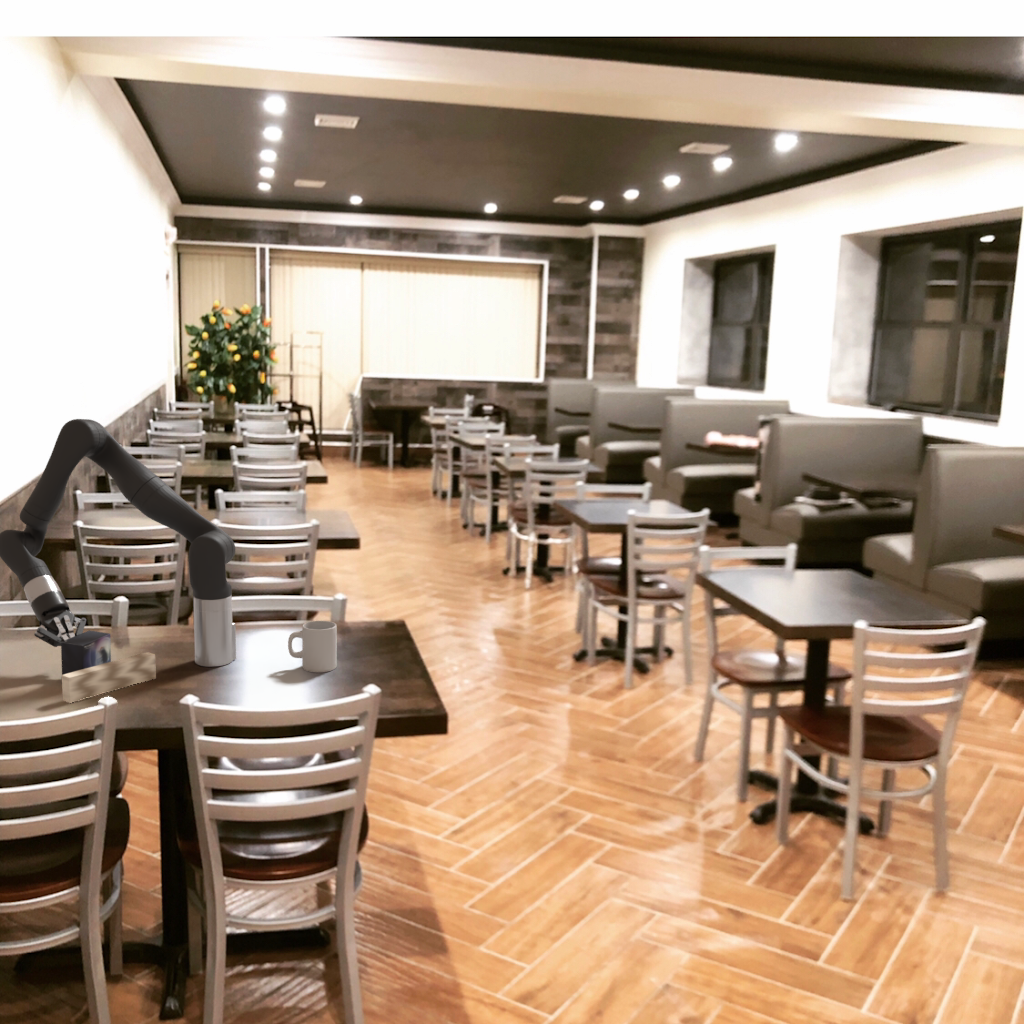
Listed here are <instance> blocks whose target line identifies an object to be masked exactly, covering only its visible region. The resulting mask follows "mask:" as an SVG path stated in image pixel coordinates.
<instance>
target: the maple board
mask: <svg viewBox="0 0 1024 1024" xmlns="http://www.w3.org/2000/svg"><path fill="white" fill-rule="evenodd" d="M156 662H157V661H156V654H155V653H151V652H149V651H146V652H142V653H139V654H135V655H131V656H127V657H123V658H120V659H119V658H118V659H117V660H111V662H108V663H104V664H101V665H97V666H93V667H90V668H86V669H82V670H78V671H75V672H71V673H67V674H63V675H62V674H61V687H62V689H61V691H62V701H63V702H65V701H66V703H68V702H69V703H68V704H70V703H71V704H73V703H72V702H74V701H78V700H80V699H83V698H86V697H90V696H94V695H97V694H100V693H102V692H107V691H112V690H115V689H118V688H122V687H125V688H127V687H126V686H129V687H131V686H130V685H132V686H134V685H133V684H136V685H138V684H137V683H139V684H142V683H146V682H148V681H152V679H153V680H155V679H157V670H156V669H157V668H156V666H157V665H156ZM145 681H146V682H145ZM141 682H142V683H141ZM122 689H123V688H122ZM115 691H116V690H115ZM112 692H113V691H112ZM78 702H79V701H78ZM74 703H75V702H74Z"/></svg>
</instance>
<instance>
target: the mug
mask: <svg viewBox="0 0 1024 1024" xmlns="http://www.w3.org/2000/svg"><path fill="white" fill-rule="evenodd" d="M337 629H338V627H337V623H335V622H333V621H329V620H313V621H308V622H305V623H303V624H302V629H301V630H298V631H297V630H296V631H293V632H291V633H290V635H289V637H288V641H287V648H288V649H287V650H288V652H289V655H290V656H291V657H292V658H295V659H302V661H301V662H302V664H301V665H302V669H303V670H304V671H306V672H311V673H326V672H327V673H328V672H330V671H333V670H335V669H336V668H337V666H338V660H337V659H338V658H337V657H338V656H337V654H338V653H337V652H338V651H337V649H338V648H337V644H338V643H337V638H338V637H337V636H338V633H337V632H338V631H337ZM295 638H299V639H301V640H302V641H301V643H302V649H301V650H299V651H295V650H294V649H293V641H294V639H295Z"/></svg>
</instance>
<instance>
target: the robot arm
mask: <svg viewBox="0 0 1024 1024" xmlns="http://www.w3.org/2000/svg"><path fill="white" fill-rule="evenodd" d="M84 457H87V458H88V459H89V460H90V461H92V462H94V463H95V464H96V465H98V466H99V467H100V468H101V469H102V470H104V471H105V472H106V473H107V474H108V475H109V476H110V478H111V479H112V480H113V481H114V483H115V485H116V486H117V488H118V490H119V491H120V492H121V494H122V495H123V496H124V498H125V499H126V500H127V501H128V502H129V503H130V504H131V505H132V506H133V507H135V508H136V509H137V510H138V511H139V512H140V513H142V514H143V515H144V516H146V517H147V518H149V519H151V520H153V521H154V522H156V523H158V524H160V525H162V526H165V527H167V528H169V529H171V530H173V531H175V532H176V533H178V534H180V535H181V536H182V537H184V538H185V539H186V540H187V541H188V542H189V543H190V544H189V545H190V546H189V549H188V569H189V571H188V572H189V582H190V583H189V584H190V586H191V589H192V591H193V592H192V593H193V594H192V595H193V629H194V630H193V631H194V633H193V635H194V663H195V664H196V665H198V666H201V667H209V668H211V667H212V668H213V667H222V666H225V665H228V664H231V663H232V662H233V661H234V660H236V659H237V643H236V642H237V639H236V638H237V636H236V635H237V634H236V623H235V622H233V600H232V598H233V596H232V593H233V592H232V590H233V589H232V584H231V583H230V582H229V581H228V580H227V570H226V565H227V564H228V563H230V562H231V561H232V560H233V559H234V557H235V556H236V555H235V554H236V545H235V542H234V540H233V538H232V537H231V536H230V535H229V534H228V533H227V532H226V531H224V530H223V529H222V528H220V527H219V526H217V525H216V524H214V523H213V522H211V521H210V520H209V519H208V518H206V517H205V516H203V515H202V514H200V513H199V512H198V511H197V510H196V509H194V507H193V506H192V505H190V504H189V503H188V502H187V501H186V500H185V499H183V497H182V496H180V495H179V494H178V493H177V492H176V491H175V490H173V489H172V487H170V486H169V485H168V484H167V483H166V482H165V481H164V480H163V479H162V478H160V477H159V476H158V475H157V474H156V473H154V472H153V471H152V470H151V469H150V468H148V467H147V466H146V465H144V464H143V462H141V461H139V460H138V459H137V458H136V457H134V456H133V455H132V454H131V453H129V452H128V451H127V450H126V449H125V448H124V447H123V446H122V444H120V443H119V442H118V441H117V440H116V439H115V437H113V435H112V434H111V433H110V432H109V431H108V430H107V429H106V428H105V427H104V425H102V424H101V423H99V422H98V421H96V420H94V419H93V420H92V419H90V418H89V419H88V418H86V419H84V418H75V419H71V420H69V421H67V422H66V423H64V424H63V426H62V427H61V429H60V431H59V433H58V436H57V438H56V441H55V444H54V447H53V449H52V452H51V454H50V456H49V459H48V461H47V463H46V466H45V468H44V470H43V472H42V474H41V476H40V478H39V480H38V482H37V483H36V485H35V487H34V489H33V490H32V492H31V493H30V496H29V497H28V499H27V500H26V502H25V504H24V505H23V507H22V509H21V511H20V513H19V519H20V521H21V522H22V523H23V524H24V525H25V527H24V530H17V529H5V530H3V531H1V532H0V559H1V560H2V561H3V562H4V563H5V565H6V566H7V567H8V568H9V569H10V571H12V572H13V574H15V575H16V576H17V579H18V581H19V583H20V584H21V586H22V590H23V592H24V593H25V594H24V595H25V597H26V599H27V601H28V603H29V605H30V607H31V609H32V611H33V613H34V614H35V615H34V616H35V617H36V618H37V620H38V621H39V624H38V625H39V626H38V628H37V629H36V630H35V632H34V633H33V634H34V635H33V636H34V637H36V638H38V639H39V640H42V641H43V642H45V643H46V644H48V645H50V646H52V647H54V648H57V647H61V642H62V641H64V640H67V639H69V638H72V637H74V636H77V635H79V634H82V633H84V630H85V626H86V623H87V619H86V617H81V618H79V617H77V616H76V615H75V614H74V612H72V611H71V610H70V606H69V604H68V601H67V600H66V598H65V596H64V594H63V592H62V590H61V588H60V587H59V584H58V583H57V581H56V580H55V579H54V577H53V574H52V573H51V571H50V569H49V567H48V565H47V564H46V562H45V561H44V560H43V559H40V558H38V557H36V556H38V555H39V553H40V552H41V551H42V548H43V545H44V543H45V538H46V534H47V532H48V531H47V530H48V526H49V525H50V522H51V521H52V520H53V518H54V516H55V514H56V512H57V511H58V509H59V507H60V506H61V503H62V501H63V499H64V497H65V496H64V495H65V492H66V488H67V485H68V481H69V479H70V477H71V475H72V473H73V472H74V470H75V468H76V467H77V465H78V464H79V463H80V462H81V461H82V459H83V458H84ZM74 628H76V629H75V632H74Z"/></svg>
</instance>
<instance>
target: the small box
mask: <svg viewBox="0 0 1024 1024" xmlns="http://www.w3.org/2000/svg"><path fill="white" fill-rule="evenodd" d="M111 645H112V644H111V633H110V632H109V633H108V632H102V631H95V630H86V631H85V632H84V631H83V633H82V634H79V635H77V636H74V637H72V638H69V639H67V640H64V641H62V642H61V646H60V650H61V651H60V653H61V655H60V657H61V660H60V661H61V676H62V675H63V674H67V673H71V672H75V671H78V670H82V669H86V668H90V667H93V666H97V665H101V664H104V663H108V662H112V649H111V648H112V647H111Z"/></svg>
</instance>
